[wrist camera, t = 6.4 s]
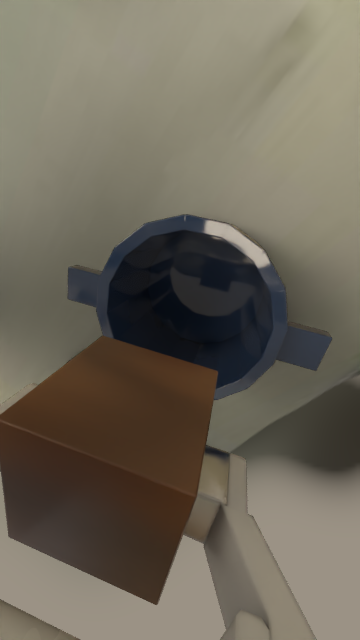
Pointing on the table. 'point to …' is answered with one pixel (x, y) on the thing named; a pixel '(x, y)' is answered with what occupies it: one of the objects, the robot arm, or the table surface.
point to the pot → (198, 300)
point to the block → (108, 462)
